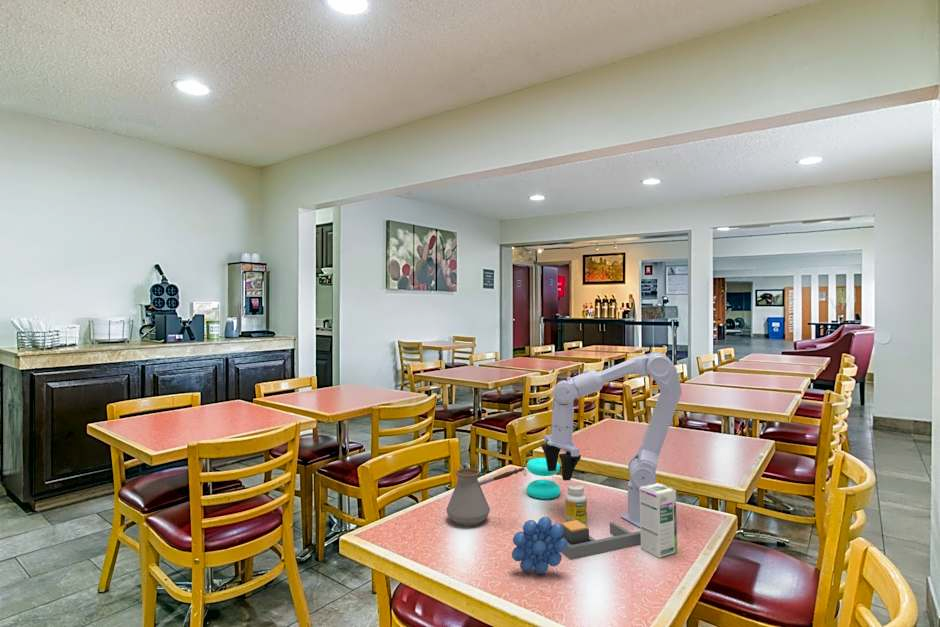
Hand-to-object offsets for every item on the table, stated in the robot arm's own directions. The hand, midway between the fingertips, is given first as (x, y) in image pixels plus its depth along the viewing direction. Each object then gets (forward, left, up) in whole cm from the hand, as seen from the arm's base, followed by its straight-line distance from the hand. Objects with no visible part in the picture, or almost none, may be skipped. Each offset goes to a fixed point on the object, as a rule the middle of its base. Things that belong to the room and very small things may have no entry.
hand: (559, 475), depth 141 cm
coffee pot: (+21, -2, -11) cm, 23 cm away
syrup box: (-9, +28, -11) cm, 31 cm away
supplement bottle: (0, +8, -11) cm, 13 cm away
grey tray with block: (+2, +20, -10) cm, 22 cm away
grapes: (+21, +26, -11) cm, 34 cm away
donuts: (-3, -14, -11) cm, 18 cm away
